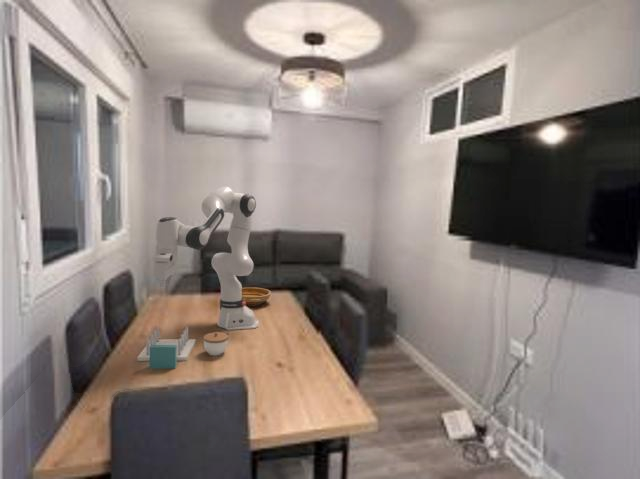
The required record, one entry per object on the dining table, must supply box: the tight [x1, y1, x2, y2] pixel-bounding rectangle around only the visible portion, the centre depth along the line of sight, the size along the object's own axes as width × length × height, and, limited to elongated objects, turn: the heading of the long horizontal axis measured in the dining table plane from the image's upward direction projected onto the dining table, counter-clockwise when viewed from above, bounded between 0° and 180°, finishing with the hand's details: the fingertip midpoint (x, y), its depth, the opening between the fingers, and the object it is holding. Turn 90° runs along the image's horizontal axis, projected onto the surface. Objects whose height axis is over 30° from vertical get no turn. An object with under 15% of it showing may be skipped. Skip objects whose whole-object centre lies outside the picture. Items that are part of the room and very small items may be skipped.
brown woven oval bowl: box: [242, 287, 272, 307], centre depth 252 cm, size 30×24×8 cm
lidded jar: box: [203, 331, 229, 357], centre depth 173 cm, size 11×11×9 cm
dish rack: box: [136, 326, 196, 362], centre depth 172 cm, size 20×20×8 cm
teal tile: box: [149, 345, 178, 370], centre depth 157 cm, size 10×2×9 cm, turn 98°
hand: (165, 286), depth 168 cm, fingers open, 8 cm apart
